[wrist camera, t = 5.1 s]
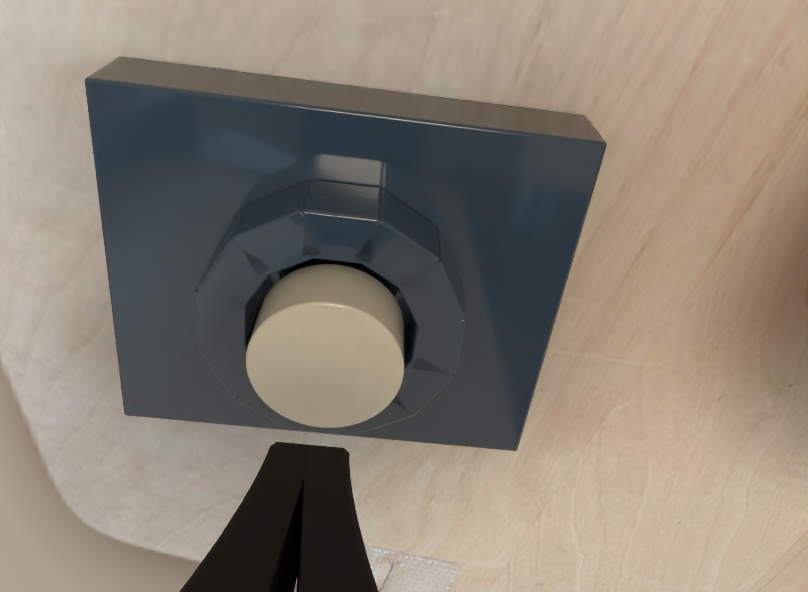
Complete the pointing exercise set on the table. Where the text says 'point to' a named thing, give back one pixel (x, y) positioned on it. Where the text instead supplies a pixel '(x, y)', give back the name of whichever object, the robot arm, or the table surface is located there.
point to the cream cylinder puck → (327, 347)
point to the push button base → (334, 236)
